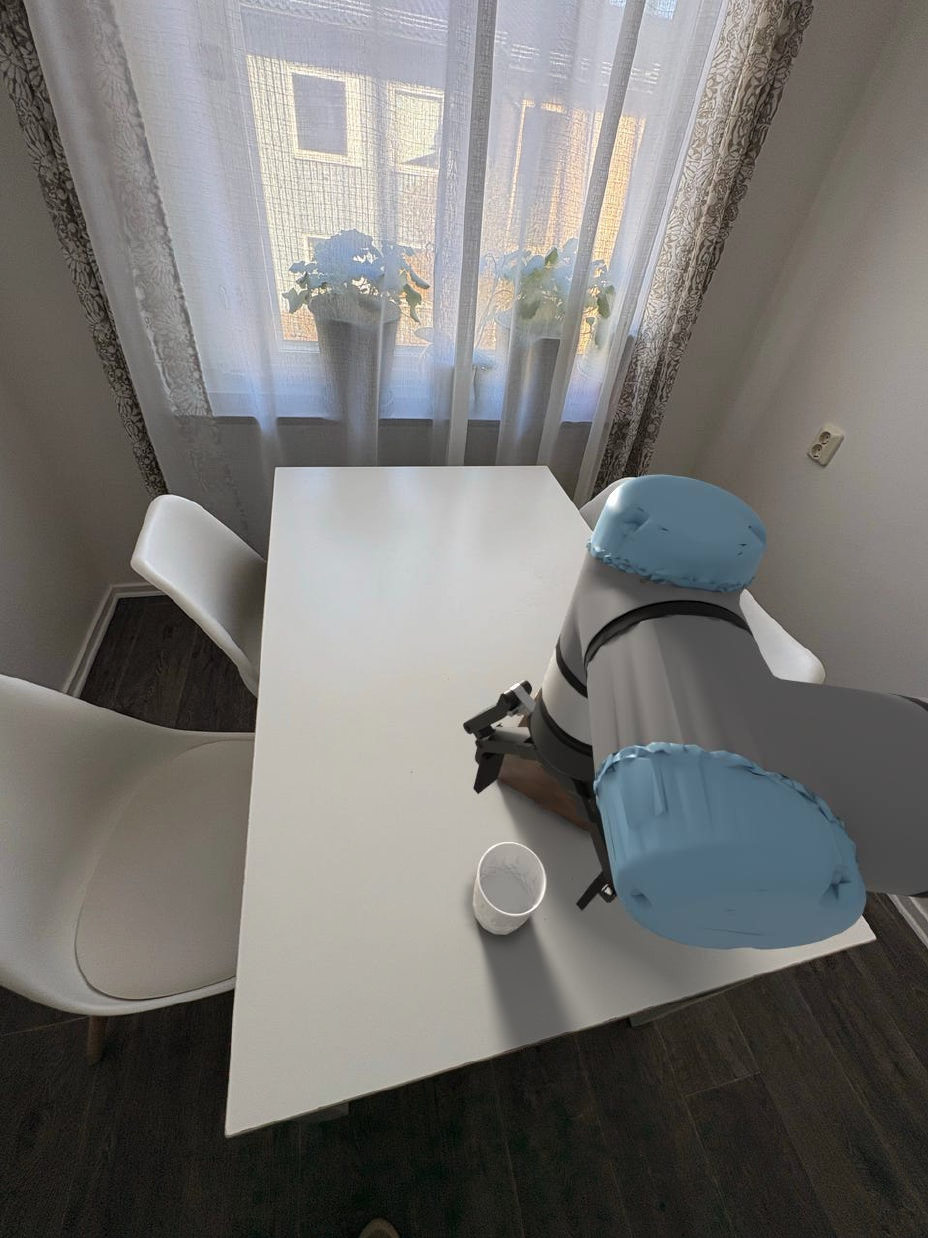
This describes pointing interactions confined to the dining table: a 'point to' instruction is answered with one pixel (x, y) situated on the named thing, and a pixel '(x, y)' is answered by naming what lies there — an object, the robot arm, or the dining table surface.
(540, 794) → the cabinet
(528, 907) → the white cup
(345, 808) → the dining table surface
